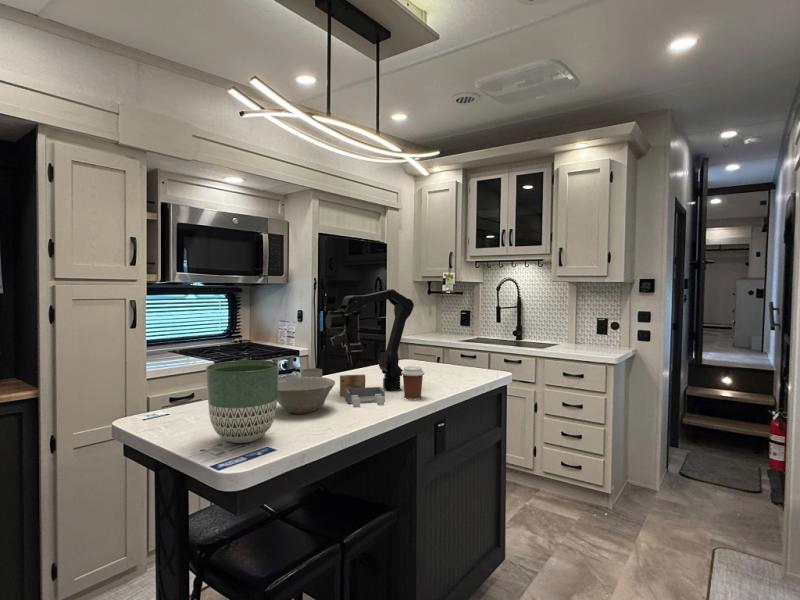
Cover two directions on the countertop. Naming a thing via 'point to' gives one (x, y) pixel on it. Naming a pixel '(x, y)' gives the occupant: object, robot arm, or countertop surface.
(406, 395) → the coffee cup
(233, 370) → the planter
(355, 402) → the carcass
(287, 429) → the countertop surface
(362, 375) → the door
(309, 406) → the ceramic bowl
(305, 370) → the cup
